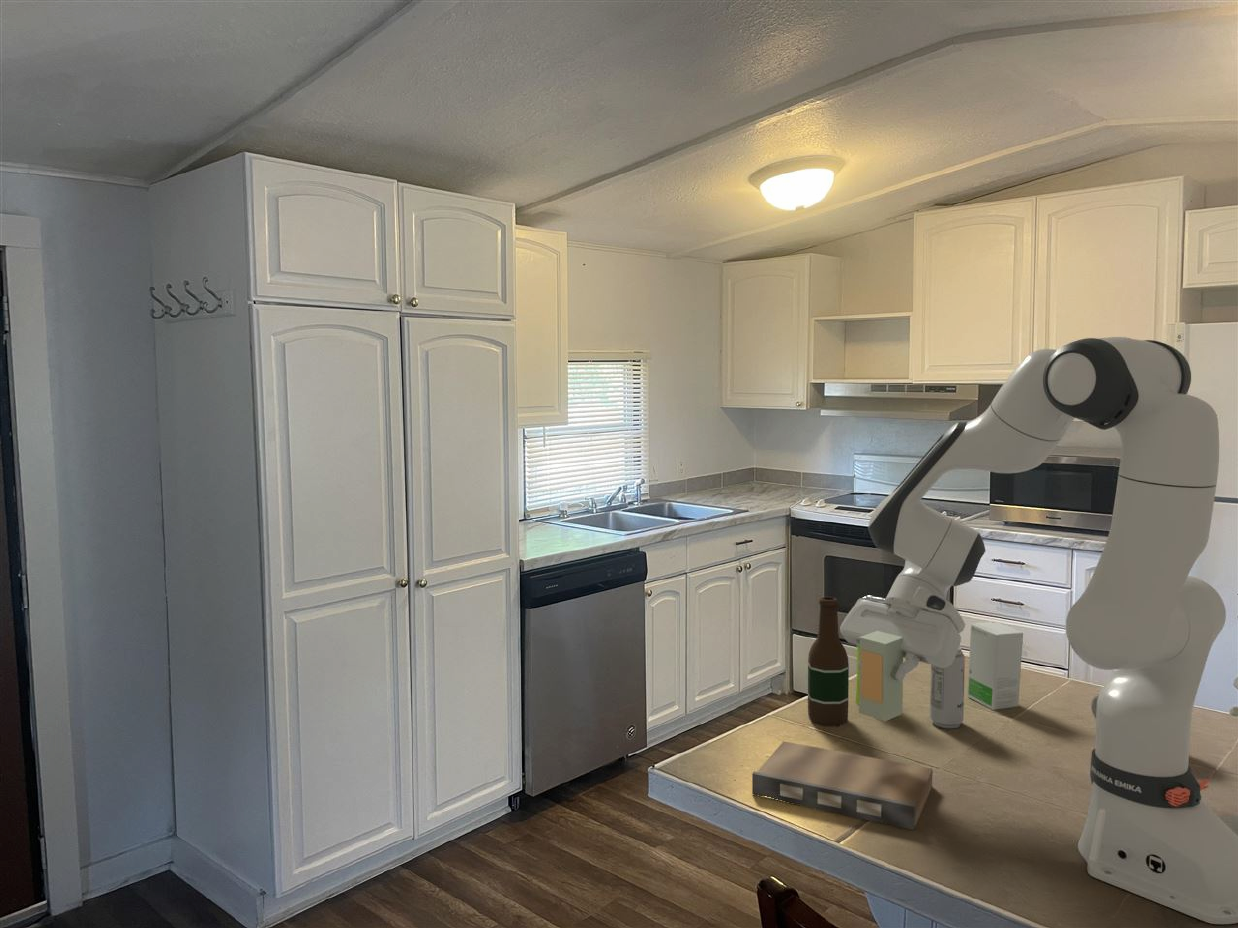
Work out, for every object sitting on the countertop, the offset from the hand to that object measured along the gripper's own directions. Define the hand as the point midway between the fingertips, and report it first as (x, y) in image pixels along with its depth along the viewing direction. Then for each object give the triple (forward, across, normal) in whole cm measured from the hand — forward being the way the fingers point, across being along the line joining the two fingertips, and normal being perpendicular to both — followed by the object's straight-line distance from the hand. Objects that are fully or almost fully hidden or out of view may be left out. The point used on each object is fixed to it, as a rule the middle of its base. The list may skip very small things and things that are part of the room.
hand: (878, 673), depth 150 cm
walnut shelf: (+18, -1, +6) cm, 19 cm away
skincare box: (-20, -4, +46) cm, 50 cm away
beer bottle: (+3, -21, +22) cm, 31 cm away
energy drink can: (-8, -5, +33) cm, 34 cm away
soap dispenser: (-7, -20, +33) cm, 39 cm away
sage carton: (+4, 0, +5) cm, 7 cm away
